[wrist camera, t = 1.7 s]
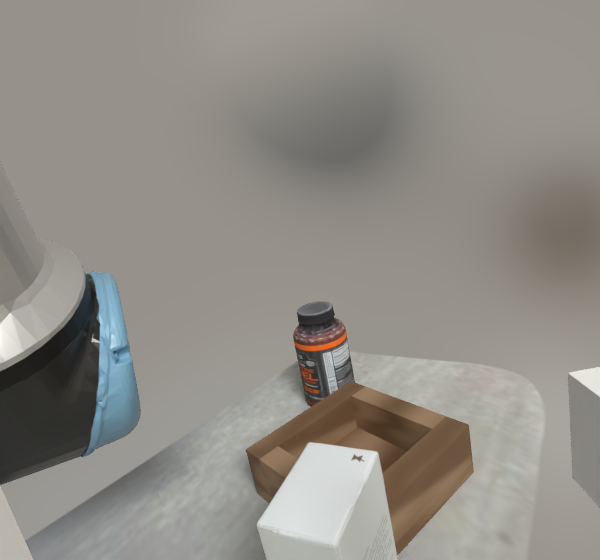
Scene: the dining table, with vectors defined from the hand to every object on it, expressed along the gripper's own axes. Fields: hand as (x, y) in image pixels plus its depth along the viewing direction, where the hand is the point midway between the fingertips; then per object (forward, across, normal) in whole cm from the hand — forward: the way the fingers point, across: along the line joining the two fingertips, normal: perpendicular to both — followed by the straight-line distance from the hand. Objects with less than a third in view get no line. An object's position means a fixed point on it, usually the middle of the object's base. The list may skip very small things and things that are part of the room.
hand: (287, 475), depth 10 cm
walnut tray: (+23, +2, -20) cm, 30 cm away
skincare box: (+9, 0, -20) cm, 22 cm away
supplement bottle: (+37, +1, -20) cm, 42 cm away
